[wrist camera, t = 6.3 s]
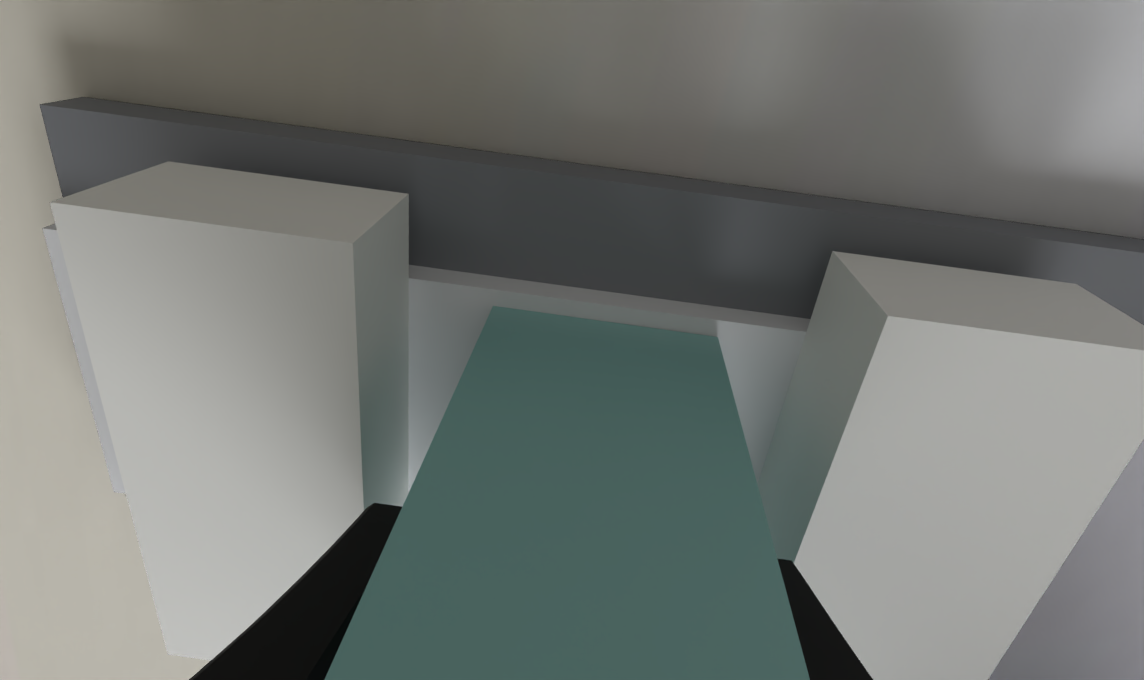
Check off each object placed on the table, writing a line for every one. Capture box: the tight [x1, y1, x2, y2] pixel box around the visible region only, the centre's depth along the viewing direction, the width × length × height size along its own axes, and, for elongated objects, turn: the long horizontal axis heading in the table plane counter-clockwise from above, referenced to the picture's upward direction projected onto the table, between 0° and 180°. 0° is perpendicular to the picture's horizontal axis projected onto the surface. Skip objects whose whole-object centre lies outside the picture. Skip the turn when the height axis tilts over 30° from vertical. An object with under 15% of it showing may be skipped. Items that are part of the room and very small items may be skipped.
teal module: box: [324, 306, 810, 680], centre depth 9 cm, size 4×6×8 cm, turn 174°
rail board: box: [40, 97, 1144, 680], centre depth 12 cm, size 20×10×4 cm, turn 84°
